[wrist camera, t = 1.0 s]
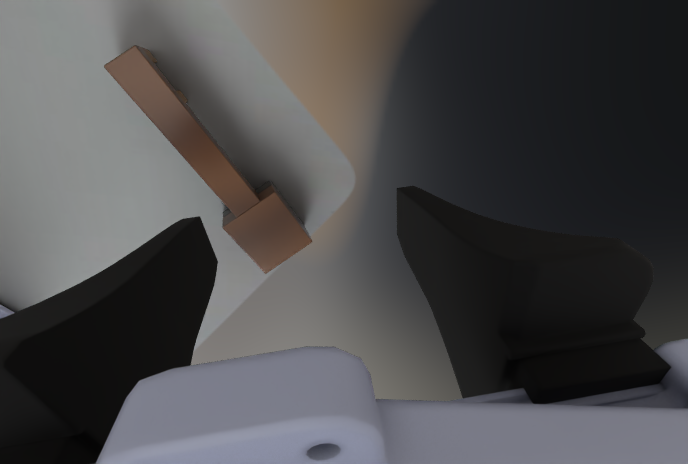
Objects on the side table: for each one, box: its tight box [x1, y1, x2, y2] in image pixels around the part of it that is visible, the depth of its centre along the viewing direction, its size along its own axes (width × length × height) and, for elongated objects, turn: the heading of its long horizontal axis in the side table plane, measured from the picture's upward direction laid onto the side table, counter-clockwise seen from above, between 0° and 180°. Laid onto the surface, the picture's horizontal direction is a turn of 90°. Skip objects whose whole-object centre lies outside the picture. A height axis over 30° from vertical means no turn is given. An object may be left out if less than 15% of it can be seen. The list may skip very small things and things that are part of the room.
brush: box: [104, 46, 312, 274], centre depth 22 cm, size 16×4×3 cm, turn 30°
